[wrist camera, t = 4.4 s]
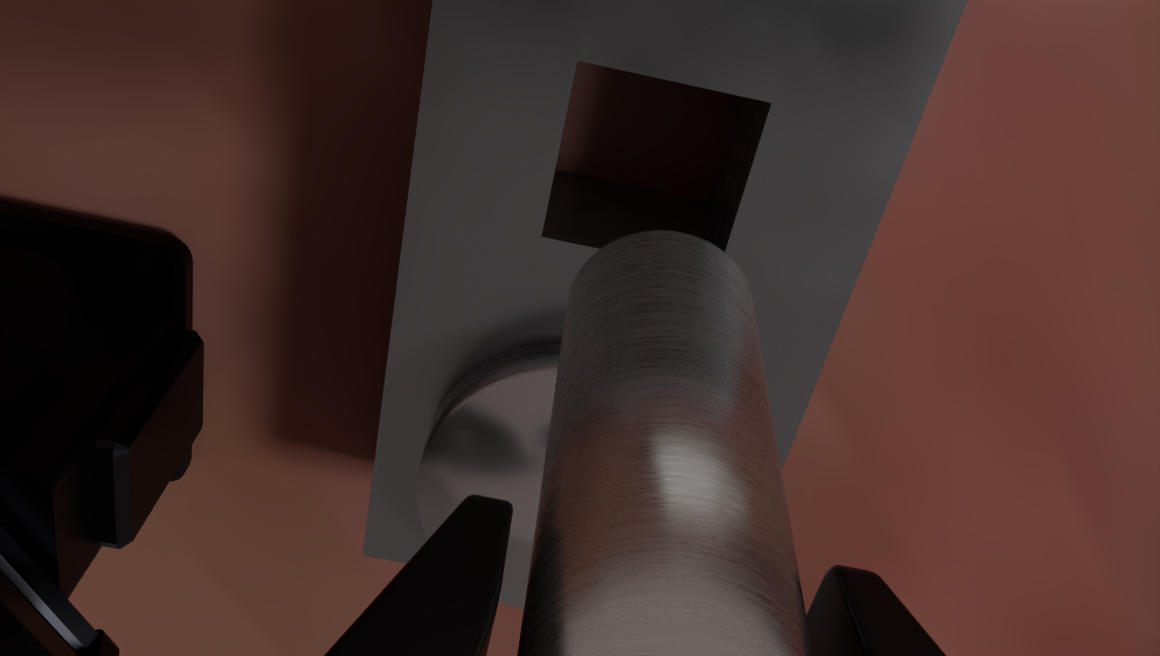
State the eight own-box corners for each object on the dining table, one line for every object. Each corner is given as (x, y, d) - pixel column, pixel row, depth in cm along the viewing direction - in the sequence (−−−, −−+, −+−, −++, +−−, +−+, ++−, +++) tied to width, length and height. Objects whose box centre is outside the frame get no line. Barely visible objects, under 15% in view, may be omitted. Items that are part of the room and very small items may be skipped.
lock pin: (499, 398, 14) (267, 1461, 6) (548, 156, 12) (310, 1202, 4) (754, 449, 14) (906, 1550, 6) (840, 220, 12) (1251, 1347, 4)
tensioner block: (391, 467, 25) (349, 595, 21) (478, -157, 18) (435, -122, 14) (713, 529, 25) (724, 665, 22) (926, -55, 18) (996, 6, 14)
